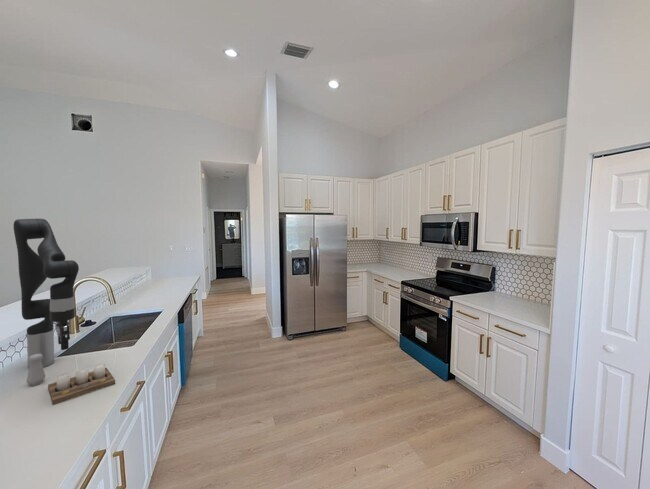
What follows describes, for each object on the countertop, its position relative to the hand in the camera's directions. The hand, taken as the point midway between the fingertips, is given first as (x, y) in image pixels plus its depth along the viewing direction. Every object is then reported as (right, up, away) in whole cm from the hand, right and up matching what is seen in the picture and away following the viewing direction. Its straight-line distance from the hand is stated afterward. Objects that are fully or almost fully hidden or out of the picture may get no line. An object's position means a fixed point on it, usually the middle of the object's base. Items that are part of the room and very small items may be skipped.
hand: (63, 346), depth 114 cm
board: (+3, -20, +5) cm, 21 cm away
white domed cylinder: (-1, -18, +1) cm, 18 cm away
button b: (+3, -18, +5) cm, 19 cm away
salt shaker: (-19, -19, +7) cm, 28 cm away
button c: (+7, -18, +10) cm, 21 cm away
